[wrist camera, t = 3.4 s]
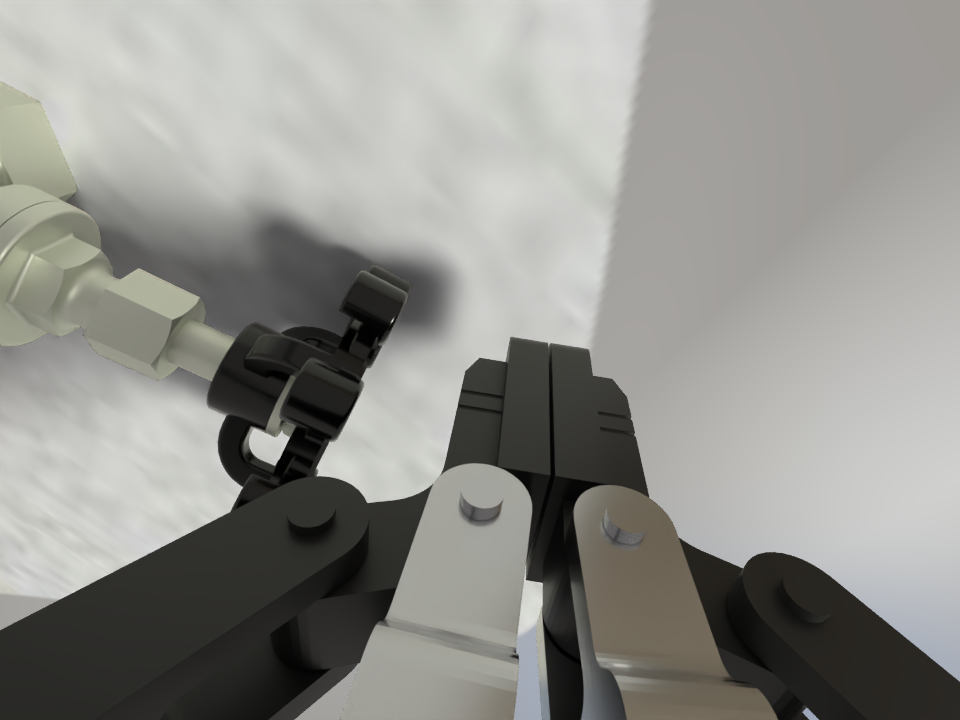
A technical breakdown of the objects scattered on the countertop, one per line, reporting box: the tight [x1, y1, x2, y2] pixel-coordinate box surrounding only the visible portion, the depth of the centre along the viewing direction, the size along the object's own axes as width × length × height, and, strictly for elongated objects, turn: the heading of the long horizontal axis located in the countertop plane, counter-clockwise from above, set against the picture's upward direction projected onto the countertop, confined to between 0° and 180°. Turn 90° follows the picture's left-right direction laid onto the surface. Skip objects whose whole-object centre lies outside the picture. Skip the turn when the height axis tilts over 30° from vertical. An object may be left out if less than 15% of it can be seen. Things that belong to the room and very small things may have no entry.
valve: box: [0, 81, 412, 512], centre depth 10 cm, size 7×7×12 cm
